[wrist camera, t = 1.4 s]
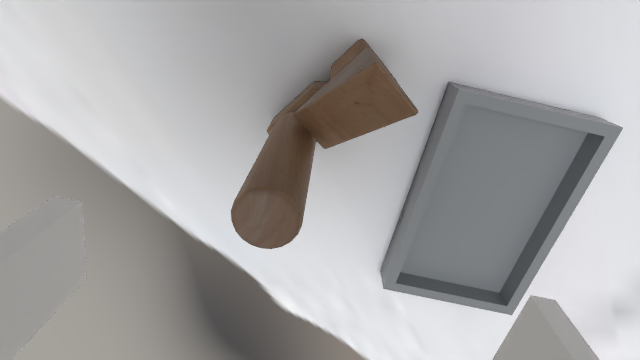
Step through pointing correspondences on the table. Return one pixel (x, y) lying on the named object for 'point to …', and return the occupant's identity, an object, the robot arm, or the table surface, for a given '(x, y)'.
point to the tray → (492, 197)
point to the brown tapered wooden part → (314, 142)
